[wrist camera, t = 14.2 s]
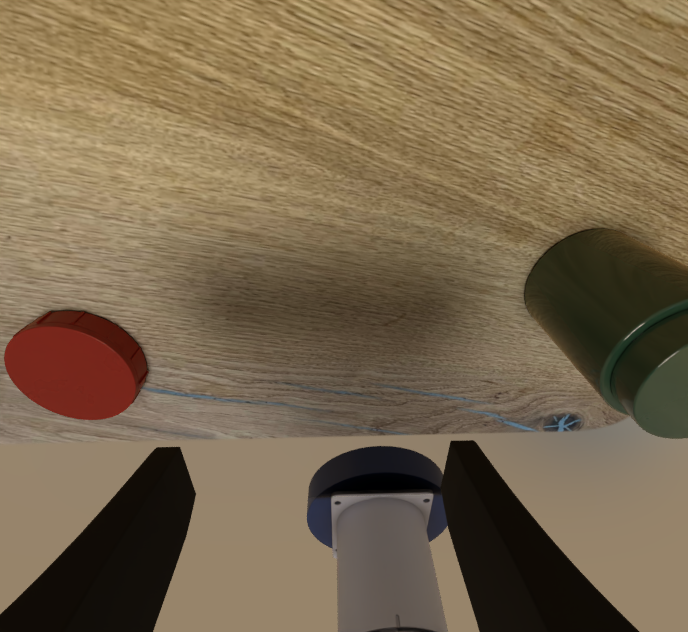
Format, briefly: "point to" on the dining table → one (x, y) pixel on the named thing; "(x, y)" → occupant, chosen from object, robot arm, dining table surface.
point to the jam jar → (619, 323)
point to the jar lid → (76, 365)
